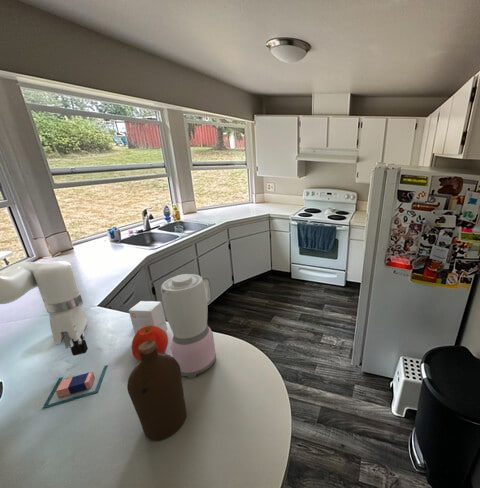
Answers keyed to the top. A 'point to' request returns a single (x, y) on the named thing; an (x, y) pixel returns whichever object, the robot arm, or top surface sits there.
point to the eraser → (75, 384)
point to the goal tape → (72, 397)
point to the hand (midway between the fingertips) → (80, 352)
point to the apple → (149, 339)
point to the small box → (147, 315)
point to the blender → (189, 322)
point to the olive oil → (157, 393)
